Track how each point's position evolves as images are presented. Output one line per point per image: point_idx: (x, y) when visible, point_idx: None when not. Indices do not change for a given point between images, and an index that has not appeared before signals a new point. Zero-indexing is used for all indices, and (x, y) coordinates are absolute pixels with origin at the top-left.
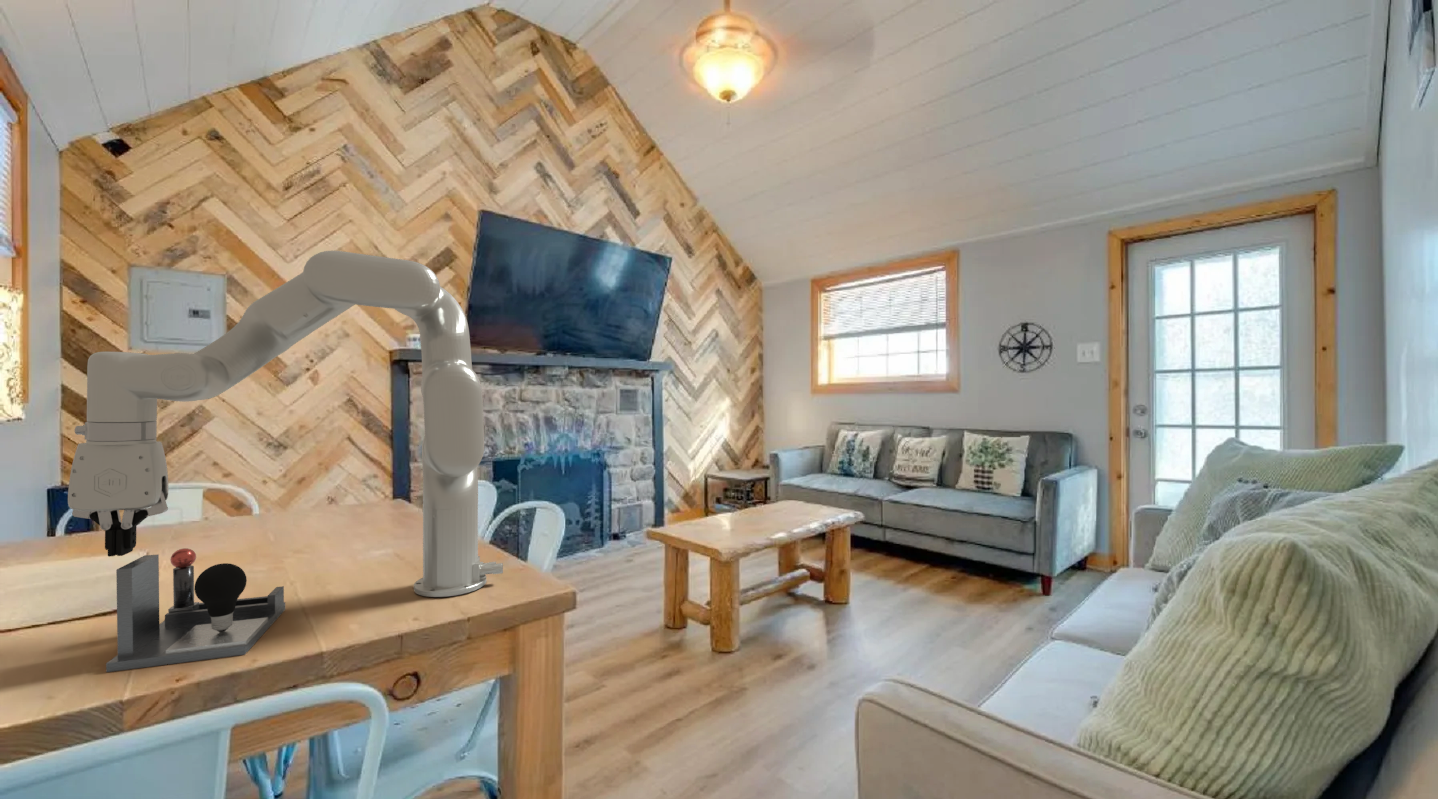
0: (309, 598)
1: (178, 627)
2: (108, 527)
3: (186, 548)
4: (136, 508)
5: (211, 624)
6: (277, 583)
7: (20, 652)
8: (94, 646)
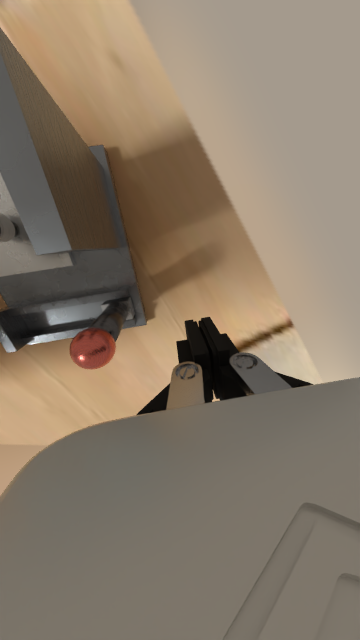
0: (34, 370)
1: (104, 275)
2: (237, 363)
3: (83, 363)
4: (120, 419)
5: (2, 216)
6: (112, 414)
7: (251, 255)
8: (184, 257)
